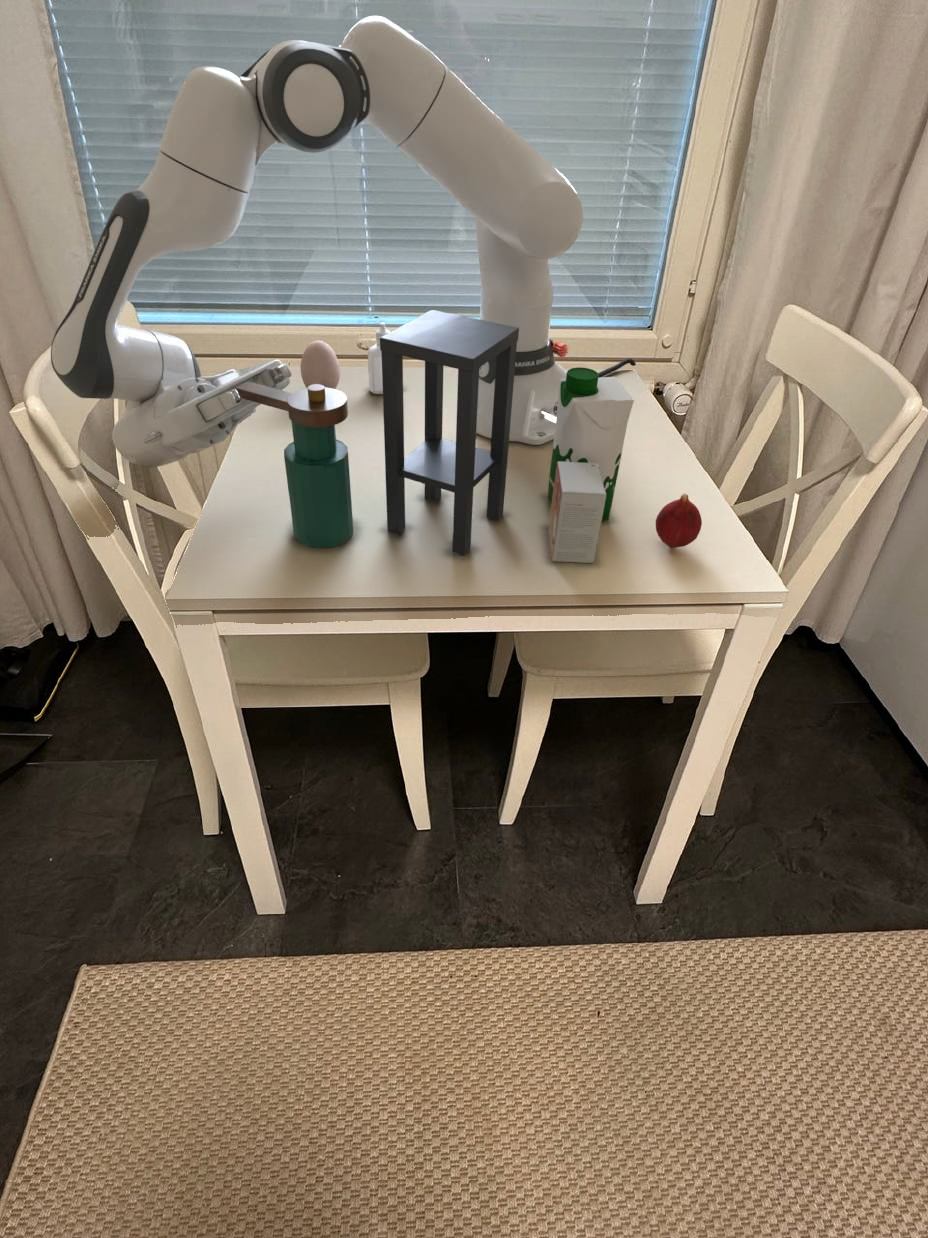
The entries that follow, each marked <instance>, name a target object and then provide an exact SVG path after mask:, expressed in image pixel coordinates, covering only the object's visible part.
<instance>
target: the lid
mask: <svg viewBox="0 0 928 1238" xmlns="http://www.w3.org/2000/svg"><path fill="white" fill-rule="evenodd" d="M235 390H236V391H237V392H238V396H240V397H241V398H242V399H246V400H249V401H253V402H256V403H260V405H264V406H267V407H271V408H275V409H277V410H281V411H285V412H287V414H288V418H289V420H290V422H291V421H292V422H294V423H295V424H298V425H301V426H305V427H315V428H318V427H328V426H333V425H335V426H337V425H338V424H341V423H342V422H344V421H345V420H347V418H348V416H349V407H348V397H347V394H345V393H344V392H343V391H342V390H340V389H337V388H336V389H333V388H327V387H324V386H323V385H320V384H313V385H310V386H308V388H307V387H304V388H301V389H298V390H295V391H293V392H290V391H286V390H279V389H275V388H271V387H268V386H264V385H260V384H257V383H253V382H249V381H248V382H246V383H244V384H242V385H240V386H238V387H236V388H235ZM292 422H291V423H292Z"/></svg>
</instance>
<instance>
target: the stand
mask: <svg viewBox="0 0 928 1238" xmlns="http://www.w3.org/2000/svg"><path fill="white" fill-rule="evenodd" d="M518 335H519V328H517V327H512V326H507V325H503V324H498V323H493V322H488V321H484V320H480V318H479V319H478V318H474V317H469V316H464V315H459V314H454V313H450V312H445V311H442V310H441V311H440V310H435V309H430V310H428V311H426V312H425V313H423V314H421V315H419V316H417V317H415V318H414V319H412V320H410V321H408V322H406V323H405V324H403V325H400V326H399V327H397V328H396V329H393V330H391V331H390V333H388V334H386V335H384V336H382V337H380V350H381V354H382V384H383V394H382V404H383V405H382V409H383V410H382V411H383V438H384V439H383V440H384V441H383V442H384V469H385V472H384V473H385V498H386V525H387V527H386V528H387V530H386V531H388V532H389V533H393V534H396V535H400V534H401V533H402V532H403V531H404V530H405V529H406V486H405V483H406V482H405V481H406V479H407V480H410V481H414V482H417V483H421V484H424V497H423V498H424V499H425V500H429V501H431V502H436V501H437V500H439V499H440V498H441V497H442V490H443V491H448V492H450V493H453V520H452V521H453V522H452V523H453V524H452V550H451V551H452V553H453V554H456V555H460V556H463V557H464V556H465V557H466V555H467V554H468V553H469V552H470V551H471V544H472V524H473V506H474V504H473V503H474V488H475V487H476V486H477V485H478V484H479V483H480V482H481V481H482V480H483V479H484V478H485V477H486V476H487V475H488V485H487V499H486V500H487V501H486V516H485V517H486V518H487V519H490V520H493V521H497V522H498V521H499V520H500V519H501V518H502V517H503V516H504V508H505V495H506V486H507V485H506V483H507V470H508V459H509V445H510V441H509V435H510V422H511V410H512V398H513V385H514V373H515V360H516V348H517V341H518ZM495 356H497V358H496V373H495V389H494V405H493V420H492V436H491V438H490V450H486V449H482V448H479V447H476V443H477V433H476V427H477V407H478V386H479V368H480V367H481V366H482V365H484V364H485V363H487V362H488V361H490V360H491V359H492V358H494V357H495ZM404 357H405V358H406V357H407V358H411V359H414V360H418V361H423V362H424V441H423V442H422V443H421V444H420V445H418V447H416V448H415V449H413V450H412V451H411V452H410V453H408V454H407V455H406V456H405V426H404V425H405V422H404V421H405V417H404V362H403V360H404ZM444 367H449V368H451V369H455V370H457V395H456V396H457V397H456V399H457V400H456V423H455V424H456V427H455V429H456V430H455V441H453V440H450V439H446V438H443V418H444V417H443V412H444V411H443V409H444Z"/></svg>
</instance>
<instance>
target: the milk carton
mask: <svg viewBox="0 0 928 1238" xmlns="http://www.w3.org/2000/svg"><path fill="white" fill-rule="evenodd" d="M566 371H567V376H566V378H560V379H559V389H558V404H557V417H556V425H555V434H554V439H553V441H552V442H553V444H552V451H551V460H550V467H549V477H548V491H547V498H548V501H549V503H550V505H551V504H552V496H553V489H554V482H555V475H556V467H557V462H558V461H560V462H580V463H598V464H600V471H601V476H602V480H603V485H604V489H605V492H606V500H605V505H604V510H603V516H602V521H609V519H610V515H611V509H612V505H613V500H614V495H615V490H616V485H617V479H618V476H619V475H618V474H619V470H620V466H621V465H620V464H621V459H622V453H623V449H624V443H625V438H626V433H627V427H628V423H629V419H630V416H631V412H632V409H633V405H634V402H635V399H634V398H633V397H632V396H631V394H630V393H629V392H628V390H626V388H625V387H624V386H623V384H622V383H621V382H620V381H619V379H618V378H617V377H616V376H602V377H598V376H599V375H598V373H599V372H597V371H596V370H594V369H592V368H588V367H572V368H570V369H568V370H566Z"/></svg>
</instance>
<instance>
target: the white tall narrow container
mask: <svg viewBox="0 0 928 1238" xmlns="http://www.w3.org/2000/svg"><path fill="white" fill-rule="evenodd" d="M390 332H391V331H390V330H389V329H387V327H386V323H385V322H380V327H379V329H377V330H376V331H375V336H376V337H375V339H376V343H375V344H373V345H372V346H371V347H369V348H368V350H367V369H368V370H367V372H368V389H369V391H370V392H371V393H373V394H375V395H383V384H382V354H381V350H380V337H382V336H384V335H386V334H388V333H390Z"/></svg>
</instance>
